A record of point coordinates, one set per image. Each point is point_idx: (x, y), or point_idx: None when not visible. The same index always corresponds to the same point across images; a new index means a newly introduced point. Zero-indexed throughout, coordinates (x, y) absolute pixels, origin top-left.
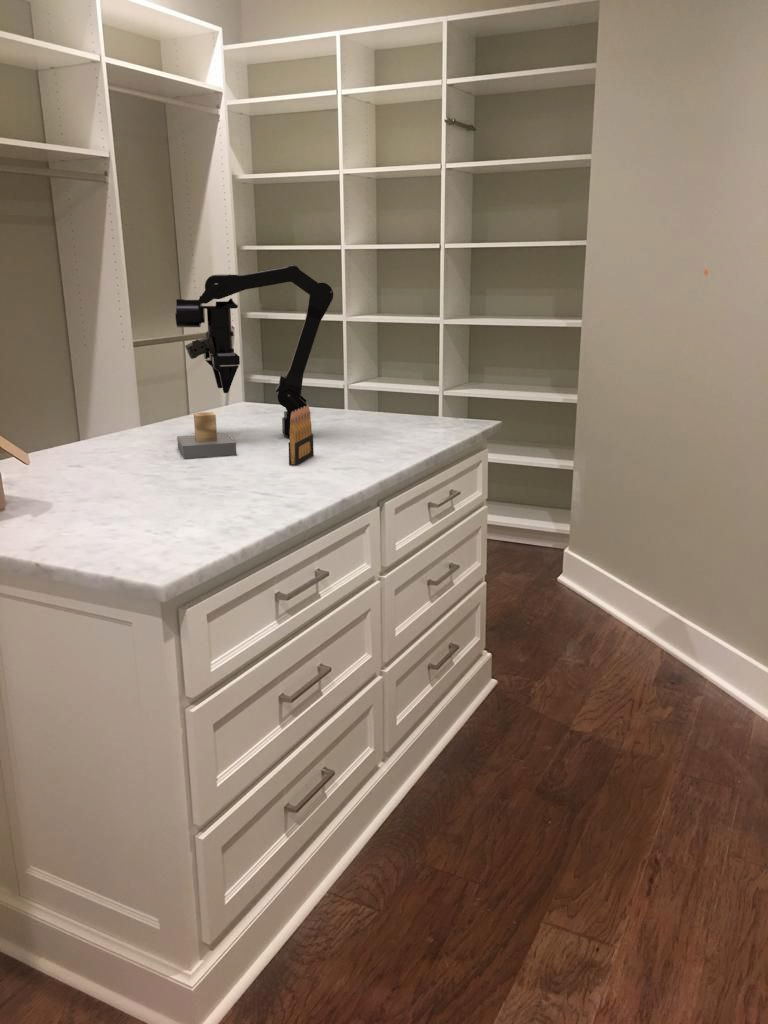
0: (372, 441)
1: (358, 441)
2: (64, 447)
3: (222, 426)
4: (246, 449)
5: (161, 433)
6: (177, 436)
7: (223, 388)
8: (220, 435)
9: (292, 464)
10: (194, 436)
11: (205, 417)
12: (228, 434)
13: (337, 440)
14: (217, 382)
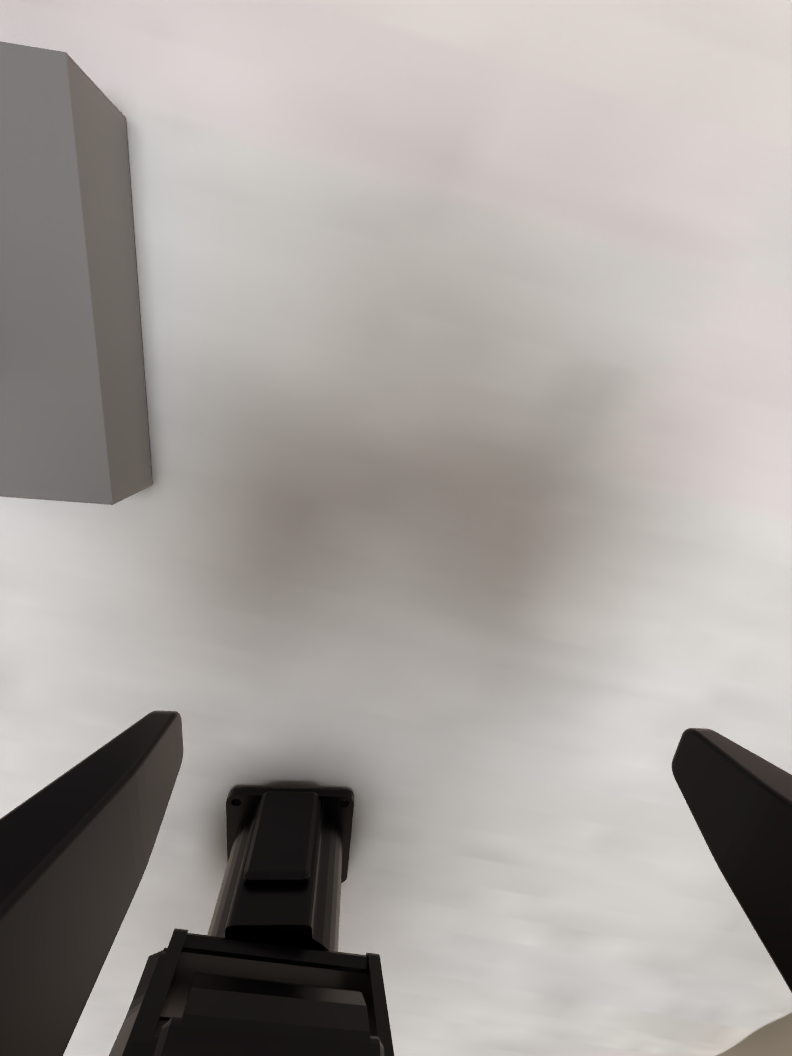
0: None
1: None
2: None
3: (718, 584)
4: (3, 552)
5: (747, 146)
6: (57, 54)
7: (85, 763)
8: (27, 437)
9: None
10: (24, 221)
11: None
12: (56, 499)
13: (133, 929)
14: (753, 791)
